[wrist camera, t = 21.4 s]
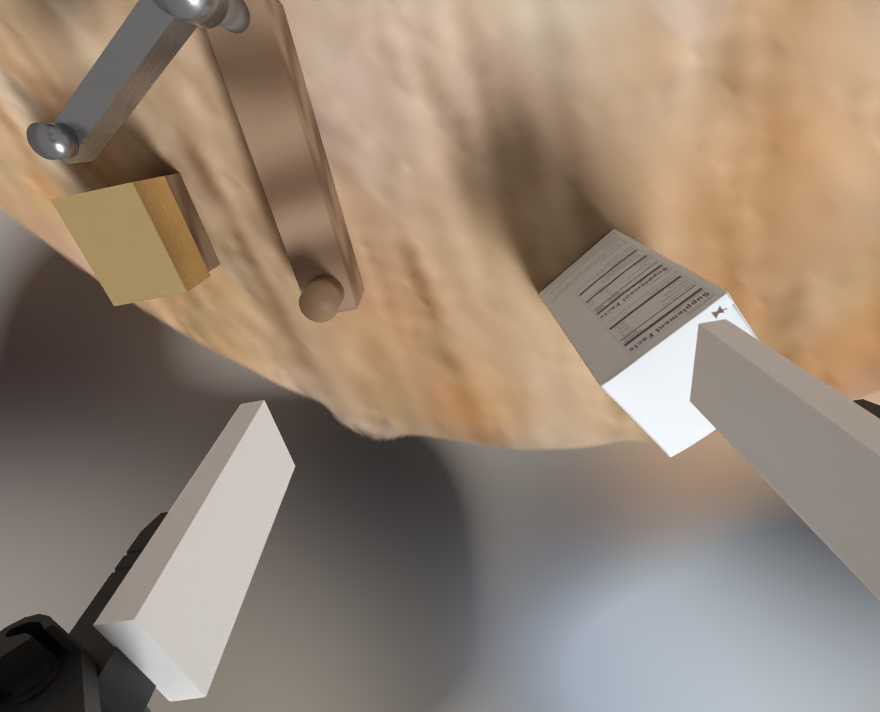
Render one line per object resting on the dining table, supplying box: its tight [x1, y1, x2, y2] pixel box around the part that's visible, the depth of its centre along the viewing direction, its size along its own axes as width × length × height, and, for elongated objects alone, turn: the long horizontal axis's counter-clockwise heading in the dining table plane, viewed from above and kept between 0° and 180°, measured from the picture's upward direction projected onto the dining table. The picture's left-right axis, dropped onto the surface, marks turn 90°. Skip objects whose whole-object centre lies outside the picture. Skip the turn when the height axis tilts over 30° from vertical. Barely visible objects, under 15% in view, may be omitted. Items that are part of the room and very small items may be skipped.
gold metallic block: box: [51, 176, 210, 306], centre depth 33 cm, size 8×6×4 cm
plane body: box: [206, 0, 364, 322], centre depth 32 cm, size 22×4×9 cm, turn 11°
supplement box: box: [539, 229, 758, 457], centre depth 35 cm, size 10×9×17 cm
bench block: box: [155, 173, 220, 272], centre depth 36 cm, size 8×4×4 cm, turn 11°
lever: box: [27, 0, 229, 164], centre depth 23 cm, size 14×3×4 cm, turn 130°
